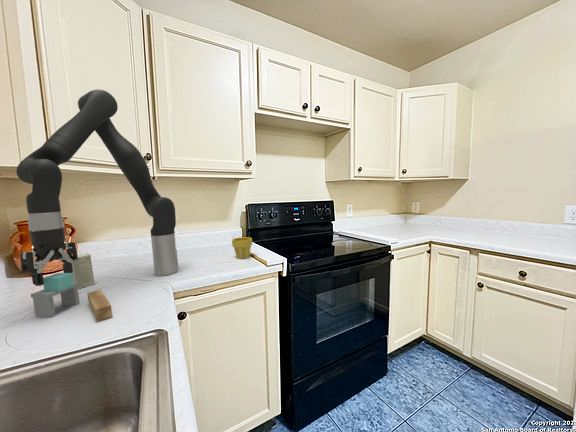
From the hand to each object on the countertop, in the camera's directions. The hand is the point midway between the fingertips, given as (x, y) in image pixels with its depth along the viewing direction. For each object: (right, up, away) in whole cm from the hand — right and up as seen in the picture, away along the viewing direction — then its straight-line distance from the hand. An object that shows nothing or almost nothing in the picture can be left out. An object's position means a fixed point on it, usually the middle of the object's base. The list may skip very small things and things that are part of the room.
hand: (54, 279), depth 75 cm
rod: (+14, -10, 0) cm, 17 cm away
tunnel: (0, -10, +1) cm, 10 cm away
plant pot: (+48, -2, +55) cm, 73 cm away
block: (+1, -3, 0) cm, 3 cm away
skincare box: (-8, -8, +21) cm, 24 cm away
